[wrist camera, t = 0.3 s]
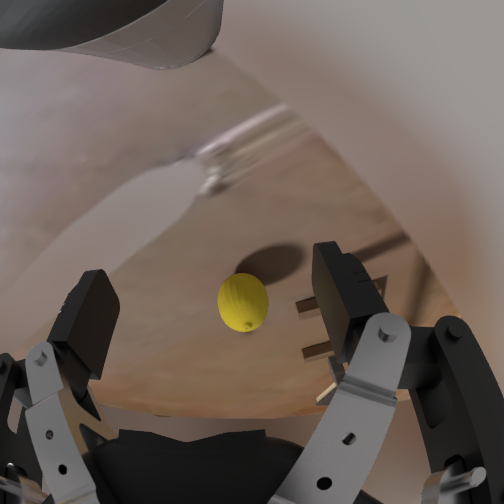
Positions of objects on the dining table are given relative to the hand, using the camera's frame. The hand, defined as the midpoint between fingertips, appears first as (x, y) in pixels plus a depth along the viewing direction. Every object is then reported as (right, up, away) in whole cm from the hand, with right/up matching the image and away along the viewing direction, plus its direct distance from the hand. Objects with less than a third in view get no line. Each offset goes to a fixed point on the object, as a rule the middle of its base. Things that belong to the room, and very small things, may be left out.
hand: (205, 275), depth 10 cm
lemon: (0, -2, +24) cm, 24 cm away
